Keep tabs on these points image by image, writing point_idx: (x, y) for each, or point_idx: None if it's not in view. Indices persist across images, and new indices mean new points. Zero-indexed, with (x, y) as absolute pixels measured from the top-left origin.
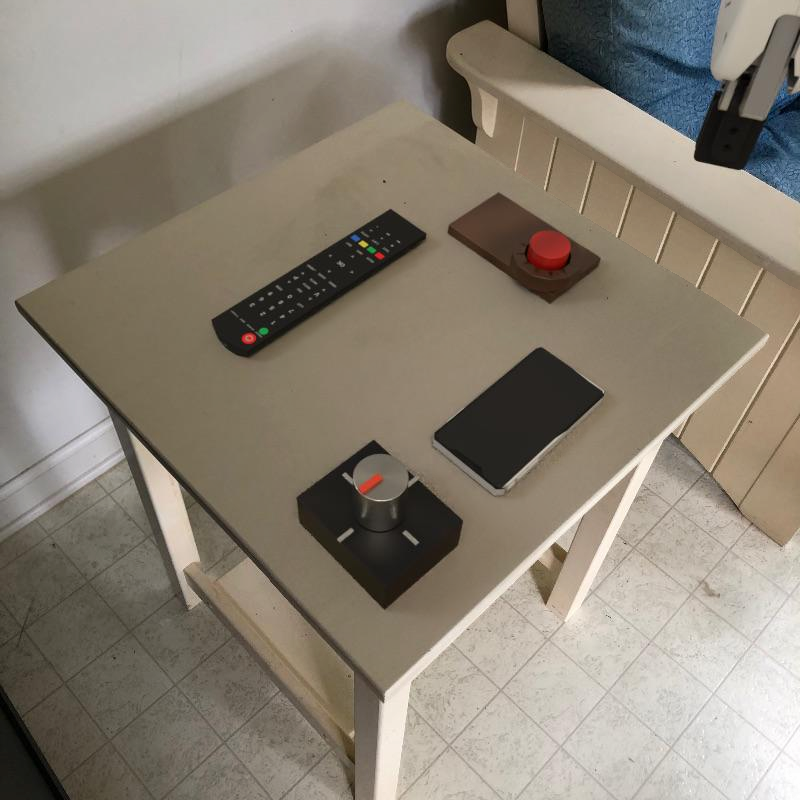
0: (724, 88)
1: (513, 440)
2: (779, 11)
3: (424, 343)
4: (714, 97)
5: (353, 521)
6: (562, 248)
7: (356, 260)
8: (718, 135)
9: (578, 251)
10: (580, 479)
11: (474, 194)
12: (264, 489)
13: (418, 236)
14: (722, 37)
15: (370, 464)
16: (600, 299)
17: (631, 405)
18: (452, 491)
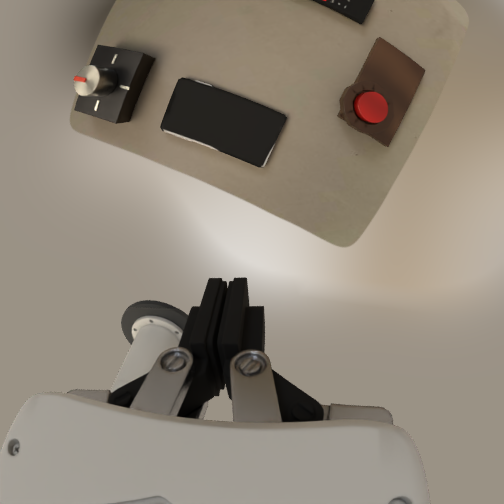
0: (178, 374)
1: (197, 123)
2: None
3: (263, 44)
4: (222, 340)
5: None
6: (372, 116)
7: None
8: (185, 328)
9: (380, 129)
10: (196, 167)
11: (420, 55)
12: (123, 24)
13: (357, 18)
14: (30, 447)
15: (90, 71)
16: (354, 150)
17: (265, 184)
18: (157, 103)
